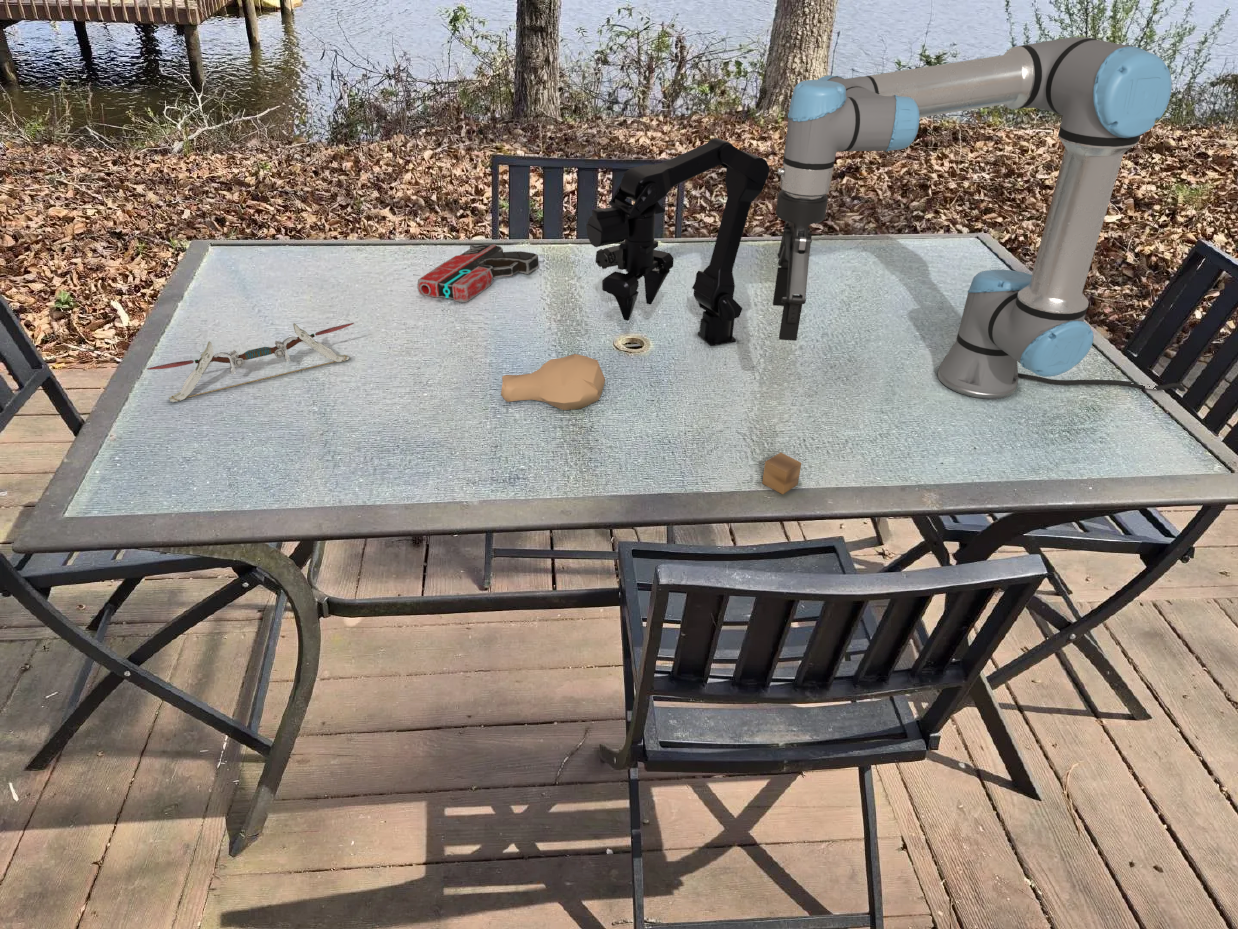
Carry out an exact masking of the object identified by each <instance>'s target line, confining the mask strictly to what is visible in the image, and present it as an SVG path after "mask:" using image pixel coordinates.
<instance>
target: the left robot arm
mask: <svg viewBox="0 0 1238 929" xmlns="http://www.w3.org/2000/svg"><path fill="white" fill-rule="evenodd" d="M768 163H769V162H768V161H767V160H766V159H765V158H763V157H760V156H758V155H756V154H752V153H750V152H747V151H744V150H741V149H739V148H737V147H736V146H734V145H733V144H732V143H731V142H729V141H727V140H724V139H721V138H718V137H714V138H711V139H710V140H709V141H708V142H705V143H703V144H702V145H699V146H697V147H695V148H693V149H691V150H688V151H686V152H684V153H682V154H680V155H677V156H675V157H673V158H671V159H668V160H666V161H664V162H661V163H657V164H655V163H654V164H643V165H639V166H635V167H631V168H629V169H627V170H626V171H624V173H623V176H622V177H621V181H620V183H619V185H618V187H617V189H616V190H615V192H614V194H613V195H612V197H611V199H610V201H609V202H608V204H609V206H610V207H603V208H599V207H598V208H593V209H592V210H591V215H590V216H589V218H588V220H587V223H586V228H585V229H586V235H587V239H588V240H589V243H590V244H591V246H593V247H594V248H599V247H600V249H598V250H596V252H595V260H594V262H595V264H597V266H598V267H599V268H601V269H602V270H606V269H608V268H611V267H612V268H613V267H617V270H621V271H625V272H626V273H624V272H621V271H617V270H615V271H613V272H612V273H610V274H608V275H607V276H605V277H604V278H603V279H602V280H601V290H602V292H606V293H607V294H610V295H612V296H613V297H614V298H615V300H616V302H617V305H618V308H619V310H620V313H621V316H622V319H623V320H624V321H627V322H628V321H630V319H631V316H632V314H633V311H634V308H635V304H636V301H637V299H638V295H639V291H638V289H639V287H640V286H639V284H640V282H639V280H640V279H641V278H643V279H644V280H643V281H644V294H645V295H644V296H645V303H646V304H647V305H649V306H650V305H653V303H654V301H655V299H656V297H657V294H658V293H659V291H660V290H661V287H662V285H663V283H664V282H665V280H666V278H667V277H668V275H669V273H670V272H671V269H672V268H674V262H675V260H674V257H673V255H672V254H671V253H670V252H667V251H663V250H658V249H657V248H658V247H659V241H657V240H655V232H656V230H655V229H656V228H655V227H656V215H658V214H663V213H665V212H666V209H665V208H664V207H663V206H662V205H661V204H660V201H661V200H663V199H664V198H666V197H667V195H668V194H669V192H670V190H671V189H672V188H674V187H676V186H677V185H679V184H682V183H684V182H686V181H688V180H691V179H692V178H696V177H697V176H699V175H701V174H703V173H706V172H708V171H710V170H712V169H714V168H716V167H719V166H721V167H723V168H724V169H726V170H725V175H724V176H725V177H724V182H725V188H726V193H727V194H726V195H727V198H726V202H725V205H724V209H723V213H722V216H721V221H720V223H719V228H718V231H717V236H716V238H715V243H714V245H713V246H714V247H713V250H712V254H711V258H710V261H709V264H708V266H707V267H705V269H703V271H701V270H698V271H697V272H696V274H695V280H694V284H693V286H692V287H691V289H693V297H694V299H695V301H696V302H697V303H698V307H699V308H700V309H701V310H702V309H703V311H702V318H700V322H699V331H698V332H697V336H698V337H700V339H701V340H703V341H704V342H705V343H707V345H708V346H711V347H714V346H720V345H724V344H731V343H735V342H737V338H735V336H734V327H735V319H738V318H740V316H741V313H742V312H743V307H742V306H741V305H740V304H739V303H738V302H737V301H736V299H734V296H735V289H736V284H735V279H734V273H733V271H734V270H733V269H734V265H735V264H736V259H737V255H738V251H739V248H740V246H741V242H742V238H743V234H744V231H745V226H746V223H747V219H748V216H749V213H750V210H751V207H752V206H751V205H752V203H753V202H754V200H756V198H757V197H759V195H760V194H761V193H762V191H763V189H764V188H765V185H766V182H767V180H768V178H769V175H770V166H769V164H768ZM627 199H629V200H631V201H633V202H634V203H633V204H632V203H631V202H629V201H627ZM619 243H620V244H619ZM613 244H617V245H613ZM618 244H619V245H618ZM608 245H609V247H605V248H603V249H602V248H601V247H604V246H608ZM610 245H613V246H610Z"/></svg>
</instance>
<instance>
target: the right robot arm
mask: <svg viewBox="0 0 1238 929" xmlns="http://www.w3.org/2000/svg"><path fill="white" fill-rule="evenodd" d="M1172 85H1173V83H1172V75H1171V71H1170V69H1169V67H1168V66H1167V64H1166V63H1165V61H1164V59H1163V58H1161V57H1160V56H1159V55H1157V54H1155V53H1153V52H1150V51H1147V50H1145V49H1143V48H1141V47H1138V46H1132V45H1128V44H1127V45H1126V44H1122V43H1117V42H1112V41H1106V40H1100V39H1097V38H1094V37H1086V36H1078V37H1077V36H1075V37H1065V38H1059V39H1052V40H1045V41H1040V42H1034V43H1028V44H1023V45H1017V46H1013V47H1010V48H1009V49H1007V50H1006V51H1005V53H1004V54H1002V55H994V56H989V57H982V58H976V59H975V58H974V59H969V60H962V61H955V62H948V63H942V64H936V65H929V66H922V67H915V68H911V69H910V68H909V69H903V70H896V71H890V72H883V73H876V74H871V75H870V74H869V75H864V76H856V77H855V76H854V77H849V78H844V77H843V76H839V75H831V74H828V75H824V76H821V77H819V78H818V79H805V80H802V81H799V82H798V83H797V84H796V85H795V86H794V88H793V92H792V97H791V99H790V105H789V110H788V113H787V118H788V119H787V127H786V136H785V145H784V152H783V158H782V167H778V169H777V175H779V176H780V180H779V181H780V182H779V188H780V189H781V190H780V191H779V192H778V193H777V200H776V209H775V215H776V217H777V218H778V219H779V220H781V221H784V226H783V229H782V230H783V231H782V236H781V240H780V245H779V249H778V253H777V260H778V261H777V265H778V267H777V270H776V271H777V272H776V278H775V286H774V292H773V299H772V306H776V307H777V306H779V307H782V312H781V313H782V314H781V321H780V328H779V334H778V340H781V341H795V342H796V341H797V338H798V333H799V328H800V321H801V315H802V308H803V305H805V304H806V302H807V287H808V286H807V285H808V274H809V263H810V252H811V246H812V243H813V239H812V237H813V235H812V234H813V233H812V232H810V231H811V230H810V229H811V227H810V226H811V225H813V224H815V225H816V224H819V223H821V222H823V221H824V220H825V218H826V213H827V208H828V202H829V197H828V195H827V194H828V193H830V192H831V185H832V180H833V174H834V169H835V162H836V155H837V153H838V152H885V153H888V152H889V151H899V150H904V149H907V148H908V147H910V146H911V145H912V143H913V142H914V141H915V139H916V137H917V135H918V132H919V127H920V119H921V118H926V117H933V116H938V115H945V114H950V113H951V114H952V113H958V112H964V111H971V110H977V109H983V108H989V107H996V106H1004V107H1005V108H1007V109H1009V110H1019V109H1025V108H1026V109H1027V108H1028V109H1038V110H1039V109H1040V110H1043V111H1047V112H1050V113H1054V114H1056V115H1059V116H1062V117H1061V122H1060V126H1059V130H1058V134H1057V138H1058V139H1059V141H1060V142H1061V144H1062V145H1063V146H1064V151H1063V155H1062V159H1061V162H1060V166H1059V170H1058V174H1057V178H1056V181H1055V185H1054V189H1053V194H1052V198H1051V200H1050V204H1049V209H1048V212H1047V216H1046V220H1045V224H1044V228H1043V232H1042V235H1041V238H1040V243H1039V247H1038V250H1037V255H1036V258H1035V262H1034V265H1033V266H1034V267H1033V270H1032V274H1030V273H1027V272H1024V271H1018V270H1011V269H988V270H983V271H980V272H978V273H977V274H976V275H975V276H973V277H972V280H971V283H970V285H969V288H968V290H967V295H966V300H965V304H964V308H963V312H962V316H961V319H960V324H959V328H958V331H957V334H956V335H957V336H956V339H955V342H954V343H953V344H952V346H951V348H950V349H949V351H948V353H946V355H945V356H944V358H943V359H942V361H941V362H940V365H939V368H938V371H937V378H938V380H939V381H940V382H941V384H942V385H944V386H945V387H946V388H948V389H950V391H953V392H956V393H957V394H960V395H964V396H968V397H971V398H977V399H983V400H997V399H998V400H999V399H1004V398H1007V397H1010V396H1012V395H1014V394H1015V392H1016V390H1017V387H1018V382H1019V379H1022V380H1023V379H1024V380H1029V381H1035V382H1040V383H1043V384H1048V385H1049V384H1050V385H1059V386H1069V385H1070V386H1075V385H1079V386H1080V385H1095V386H1096V385H1097V386H1098V385H1101V386H1102V385H1104V386H1105V385H1106V386H1107V385H1108V386H1123V387H1130V388H1135V389H1141V390H1146V389H1145V386H1143V385H1137V384H1131V383H1133V382H1134V381H1127V380H1120V379H1119V380H1118V379H1117V380H1116V379H1052V378H1049V377H1055V376H1060V375H1062V374H1065V373H1067V372H1068V371H1070V370H1072V369H1073V368H1074V367H1075V366H1077V365H1078V364H1080V363H1081V361H1083V360H1084V359H1085V357H1086V356H1087V355H1088V353H1089V352H1090V350H1091V348H1092V346H1093V343H1094V337H1095V336H1094V331H1093V330H1092V328H1091V326H1090V325H1089V323H1087V322H1086V321H1085V318H1086V315H1087V311H1088V307H1089V303H1090V302H1089V300H1088V298H1087V297H1086V296H1085V294H1084V293H1083V292H1084V289H1085V285H1086V282H1087V278H1088V275H1089V271H1090V268H1091V265H1092V262H1093V258H1094V254H1095V251H1096V247H1097V245H1098V241H1099V239H1100V238H1099V237H1100V235H1101V231H1102V228H1103V225H1104V221H1105V218H1106V214H1107V211H1108V208H1109V204H1110V201H1111V198H1112V194H1113V191H1114V188H1115V184H1116V182H1117V181H1116V180H1117V177H1118V174H1119V171H1120V168H1121V164H1122V160H1123V158H1124V154H1125V153H1126V152H1127V151H1129V150H1130V149H1132V148H1134V147H1135V146H1137V145H1138V144H1139V141H1140V138H1141V135H1143V134H1145V133H1147V132H1148V131H1149V130H1151V129H1152V128H1153V127H1154V126H1155V125H1156V124H1155V122H1156V121H1159V120H1160V119H1161V118H1162V116H1163V115H1164V114H1165V112H1166V110H1167V108H1168V106H1169V102H1170V99H1171V94H1172V87H1173V86H1172ZM1018 364H1020V365H1021V367H1022V368H1023V369H1025V370H1027V371H1030V372H1032V373H1033V374H1035V375H1032V374H1027V373H1020V372H1019V366H1018ZM1047 377H1048V378H1047ZM1154 385H1155V384H1154ZM1149 387H1150V386H1149ZM1154 388H1156V389H1157V390H1156V391H1165V390H1169V389H1178V391H1180V392H1183V393H1184V392H1186V388H1185V387H1184V385H1182V384H1181V383H1178V382H1171V383H1166V384H1161V385H1155V387H1154ZM1154 388H1153V389H1154Z"/></svg>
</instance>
